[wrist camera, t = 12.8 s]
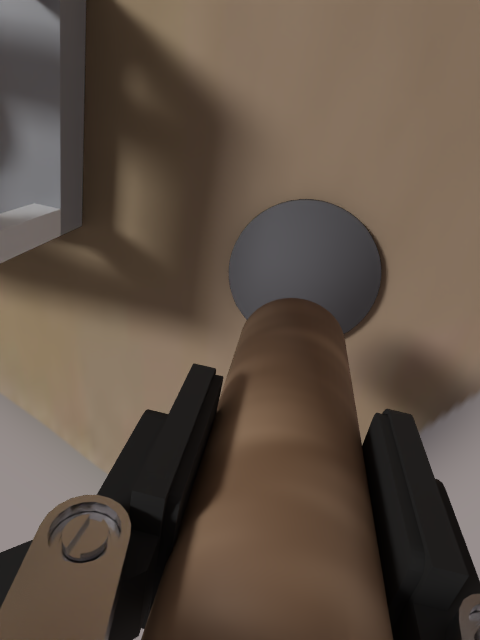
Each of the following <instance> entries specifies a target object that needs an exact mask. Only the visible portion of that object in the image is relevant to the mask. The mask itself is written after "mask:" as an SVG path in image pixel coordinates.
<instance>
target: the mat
mask: <svg viewBox="0 0 480 640" xmlns="http://www.w3.org/2000/svg"><path fill="white" fill-rule="evenodd" d="M380 281H381V263H380V257H379V253H378V250H377V247H376V245H375V243H374V241H373V239H372V237H371V235H370V233H369V232H368V230H367V229H366V227H365V226H364V225H363V224H362V223H361V222H360V221H359V220H358V219H357V218H356V217H355V216H353V215H352V214H351V213H349V212H348V211H346V210H345V209H343V208H341V207H339V206H336V205H334V204H332V203H328V202H325V201H320V200H313V199H299V200H291V201H287V202H283V203H280V204H278V205H275V206H273V207H271V208H269V209H267V210H265V211H264V212H262V213H261V214H259V215H258V216H257V217H255V218H254V219H253V220H252V221H251V222H250V223H249V224H248V225H247V226H246V228H245V229H244V230H243V232H242V233H241V235H240V236H239V238H238V240H237V242H236V243H235V246H234V248H233V251H232V254H231V258H230V263H229V283H230V289H231V292H232V295H233V298H234V300H235V303H236V305H237V307H238V308H239V310H240V311H241V313H242V314H243V316H244V317H245V318H246V319H247V320H248V318H249V317H250V316H251V315H252V313H254V312H255V311H256V310H257V309H258V308H260V307H261V306H263V305H265V304H267V303H269V302H271V301H274V300H278V299H283V298H299V299H305V300H308V301H312V302H314V303H316V304H318V305H320V306H322V307H323V308H325V309H326V310H327V311H329V312H330V313H331V314H332V315H333V316H334V317H335V319H336V320H337V321H338V323H339V325H340V327H341V329H342V331H343V334H345V333H346V332H348V331H350V330H351V329H352V328H354V327H355V326H356V325H357V324H358V323H359V322H360V321H361V320H362V319H363V318H364V317H365V316H366V314H367V313H368V312H369V310H370V309H371V307H372V305H373V304H374V301H375V299H376V297H377V294H378V291H379V287H380Z"/></svg>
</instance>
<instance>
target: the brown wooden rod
mask: <svg viewBox="0 0 480 640" xmlns="http://www.w3.org/2000/svg"><path fill="white" fill-rule="evenodd" d="M141 640H393V635H392V629H391V623H390V617H389V610H388V604H387V598H386V592H385V586H384V579H383V573H382V567H381V561H380V555H379V548H378V542H377V536H376V530H375V524H374V518H373V511H372V505H371V499H370V493H369V487H368V480H367V474H366V468H365V462H364V456H363V450H362V443H361V437H360V431H359V425H358V419H357V412H356V406H355V400H354V394H353V388H352V382H351V375H350V369H349V363H348V357H347V351H346V344H345V339H344V334H343V331H342V329H341V327H340V325H339V323H338V321H337V320H336V319H335V317H334V316H333V315H332V314H331V313H330V312H329V311H327V310H326V309H325V308H323V307H322V306H320V305H318V304H316V303H314V302H312V301H308V300H305V299H299V298H283V299H278V300H274V301H271V302H269V303H267V304H265V305H263V306H261V307H260V308H258V309H257V310H256V311H255V312H254V313H252V315H251V316H250V317H249V318H248V320H247V321H246V323H245V325H244V327H243V329H242V332H241V335H240V339H239V342H238V345H237V348H236V351H235V354H234V357H233V360H232V363H231V366H230V369H229V372H228V375H227V378H226V381H225V384H224V387H223V391H222V394H221V397H220V400H219V403H218V408H217V413H216V416H215V419H214V422H213V425H212V428H211V431H210V435H209V438H208V441H207V444H206V447H205V450H204V453H203V456H202V459H201V463H200V466H199V469H198V472H197V475H196V478H195V481H194V484H193V487H192V490H191V494H190V497H189V500H188V503H187V506H186V509H185V512H184V515H183V518H182V522H181V525H180V528H179V531H178V534H177V537H176V540H175V543H174V546H173V550H172V553H171V555H170V557H169V559H168V561H167V563H166V565H165V568H164V571H163V574H162V577H161V580H160V583H159V586H158V590H157V593H156V596H155V599H154V602H153V605H152V608H151V611H150V614H149V617H148V620H147V623H146V626H145V629H144V632H143V636H142V639H141Z"/></svg>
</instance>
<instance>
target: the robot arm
mask: <svg viewBox="0 0 480 640" xmlns="http://www.w3.org/2000/svg"><path fill="white" fill-rule="evenodd" d="M215 374H216V369H215V368H211V367H207V366H203V365H198V364H193V365H192V367H191V369H190V371H189V373H188V375H187V378H186V380H185V382H184V384H183V386H182V388H181V390H180V392H179V394H178V396H177V398H176V400H175V402H174V404H173V406H172V408H171V410H170V413H169V414H165V413H161V412H157V411H153V410H146V411H145V412H144V414H143V415H142V417H141V419H140V420H139V422H138V424H137V426H136V427H135V429H134V431H133V433H132V434H131V436H130V438H129V440H128V441H127V443H126V445H125V446H124V448H123V450H122V452H121V453H120V455H119V457H118V459H117V460H116V462H115V464H114V466H113V467H112V469H111V471H110V473H109V474H108V476H107V478H106V480H105V481H104V483H103V485H102V487H101V489H100V490H99V492H98V494H97V495H83V496H79V497H75V498H71V499H69V500H67V501H65V502H63V503H61V504H59V505H58V506H57V507H55V508H54V509H53V510H52V511H50V512H49V513H48V514H47V516H46V517H45V519H44V520H43V522H42V523H41V525H40V526H39V528H38V531H37V533H36V535H35V537H34V539H33V540H31V541H28V542H26V543H23V544H21V545H18V546H16V547H13V548H11V549H8V550H6V551H3V552H1V553H0V640H133V639H134V638H136V637H137V636H139V633H140V630H141V628H143V629H145V626H146V623H147V620H148V617H149V614H150V611H151V608H152V605H153V602H154V599H155V596H156V593H157V590H158V586H159V583H160V580H161V577H162V574H163V571H164V568H165V565H166V563H167V561H168V559H169V557H170V555H171V553H172V550H173V546H174V543H175V540H176V537H177V534H178V531H179V528H180V525H181V522H182V518H183V515H184V512H185V509H186V506H187V503H188V500H189V497H190V494H191V490H192V487H193V484H194V481H195V478H196V475H197V472H198V469H199V466H200V463H201V459H202V456H203V453H204V450H205V447H206V444H207V441H208V438H209V435H210V431H211V428H212V425H213V422H214V419H215V416H216V413H217V408H218V402H219V397H220V392H221V387H222V382H223V376H219V375H215ZM362 450H363V456H364V462H365V468H366V474H367V480H368V487H369V493H370V499H371V505H372V511H373V518H374V524H375V530H376V536H377V542H378V548H379V555H380V561H381V567H382V573H383V579H384V586H385V592H386V598H387V604H388V610H389V617H390V623H391V629H392V635H393V640H480V581H479V578H478V575H477V573H476V570H475V567H474V565H473V562H472V559H471V557H470V554H469V551H468V549H467V546H466V543H465V540H464V538H463V535H462V533H461V530H460V527H459V524H458V522H457V519H456V516H455V513H454V511H453V508H452V505H451V503H450V500H449V497H448V495H447V492H446V490H445V487H444V485H443V483H442V482H440V481H439V480H437V479H435V478H434V475H433V472H432V469H431V467H430V464H429V461H428V458H427V455H426V452H425V450H424V447H423V444H422V441H421V438H420V435H419V432H418V430H417V427H416V424H415V421H414V418H413V416H412V415H411V414H407V413H403V412H399V411H394V410H390V409H386V410H385V411H384V412H383V414H380V413H376V414H375V415H374V417H373V419H372V422H371V424H370V427H369V430H368V432H367V435H366V437H365V440H364V443H363V445H362Z"/></svg>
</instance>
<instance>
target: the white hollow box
mask: <svg viewBox="0 0 480 640" xmlns="http://www.w3.org/2000/svg"><path fill="white" fill-rule="evenodd" d="M85 37H86V0H0V263H3V262H5V261H7V260H9V259H11V258H13V257H16V256H18V255H20V254H22V253H24V252H26V251H29V250H31V249H33V248H35V247H37V246H39V245H42V244H44V243H46V242H48V241H50V240H52V239H55V238H57V237H59V236H61V235H63V234H65V233H68V232H70V231H72V230H74V229H76V228H78V227H81V226H82V194H83V142H84V89H85Z"/></svg>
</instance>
